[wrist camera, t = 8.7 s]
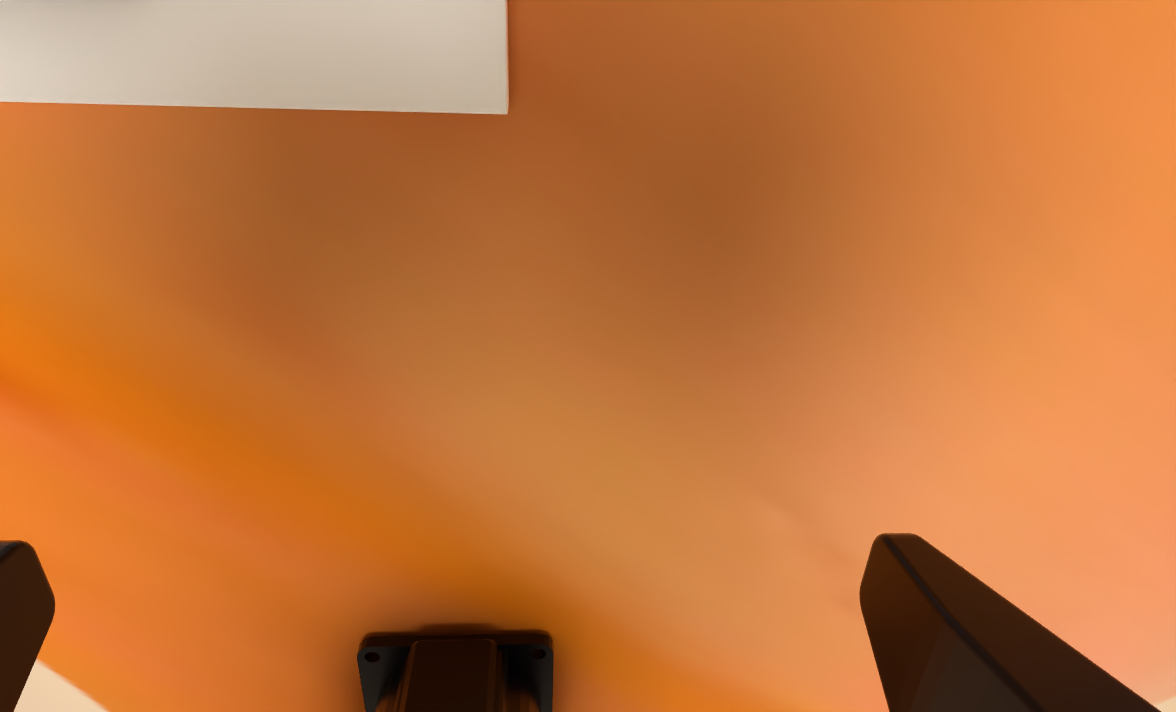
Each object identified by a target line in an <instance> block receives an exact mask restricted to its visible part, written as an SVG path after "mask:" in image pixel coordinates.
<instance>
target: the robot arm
mask: <svg viewBox="0 0 1176 712" xmlns="http://www.w3.org/2000/svg"><path fill="white" fill-rule="evenodd" d="M860 605H861V610H862V614H863V617H864V621H865V625H866V628H867V632H868V635H869V639H870V643H871V646H872V650H873V654H874V657H875V661H876V664H877V668H878V672H879V675H880V679H881V683H882V686H883V690H884V693H885V697H886V701H887V704H888V708H889V712H1161V711H1159V710H1158V709H1157V708H1156V707H1154V706H1153V705H1151V704H1150V703H1149V702H1147V701H1146V700H1144V699H1143V698H1142V697H1140V696H1139V695H1138V694H1136V693H1135V692H1133V691H1132V690H1131V689H1129V688H1128V687H1127V686H1125V685H1124V684H1122V683H1121V682H1120V681H1118V680H1117V679H1116V678H1114V677H1113V676H1111V675H1110V674H1109V673H1107V672H1106V671H1105V670H1103V669H1102V668H1100V667H1099V666H1098V665H1096V664H1095V663H1093V662H1092V661H1091V660H1089V659H1088V658H1087V657H1085V656H1084V655H1082V654H1081V653H1080V652H1078V651H1077V650H1076V649H1074V648H1073V647H1071V646H1070V645H1069V644H1067V643H1066V642H1065V641H1063V640H1062V639H1060V638H1059V637H1058V636H1056V635H1055V634H1054V633H1052V632H1051V631H1049V630H1048V629H1047V628H1045V627H1044V626H1042V625H1041V624H1040V623H1038V622H1037V621H1036V620H1034V619H1033V618H1031V617H1030V616H1029V615H1027V614H1026V613H1025V612H1023V611H1022V610H1020V609H1019V608H1018V607H1016V606H1015V605H1014V604H1012V603H1011V602H1009V601H1008V600H1007V599H1005V598H1004V597H1002V596H1001V595H1000V594H998V593H997V592H996V591H994V590H993V589H991V588H990V587H989V586H987V585H986V584H985V583H983V582H982V581H980V580H979V579H978V578H976V577H975V576H974V575H972V574H971V573H969V572H968V571H967V570H965V569H964V568H963V567H961V566H960V565H958V564H957V563H956V562H954V561H953V560H951V559H950V558H949V557H947V556H946V555H945V554H943V553H942V552H940V551H939V550H938V549H936V548H935V547H934V546H932V545H931V544H929V543H928V542H927V541H925V540H924V539H923V538H921V537H919V536H918V535H915V534H911V533H884V534H881V535H878V536H877V537H876V538H875V540H874V542H873V544H872V547H871V551H870V554H869V558H868V561H867V565H866V568H865V571H864V575H863V578H862V582H861V586H860ZM54 612H55V599H54V594H53V592H52V589H51V587H50V584H49V582H48V580H47V577H46V575H45V573H44V570H43V568H42V566H41V563H40V561H39V558H38V556H37V554H36V551H35V550H34V548H33V547H32V546H31V545H30V544H29V543H27V542H24V541H19V540H11V541H0V712H14V709H15V707H16V704H17V702H18V700H19V698H20V695H21V693H22V690H23V688H24V686H25V683H26V681H27V679H28V676H29V674H30V672H31V669H32V667H33V665H34V662H35V660H36V658H37V655H38V653H39V651H40V648H41V646H42V644H43V641H44V639H45V637H46V634H47V632H48V630H49V627H50V625H51V623H52V620H53V616H54ZM537 649H539V650H537ZM357 661H358V667H359V673H360V679H361V685H362V691H363V697H364V703H365V709H366V712H552V698H553V641H552V640H551V639H550V638H549V637H548V636H545V635H541V634H525V635H465V636H405V637H370V638H366V639H364V640H363V641H362V642H361V643H360V646H359V650H358V654H357Z"/></svg>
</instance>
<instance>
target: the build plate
mask: <svg viewBox="0 0 1176 712" xmlns="http://www.w3.org/2000/svg"><path fill="white" fill-rule="evenodd" d="M0 102H39V103H79V104H118V105H157V106H197V107H236V108H276V109H315V110H354V111H394V112H433V113H472V114H507V113H508V108H509V72H508V2H507V0H0Z"/></svg>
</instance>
